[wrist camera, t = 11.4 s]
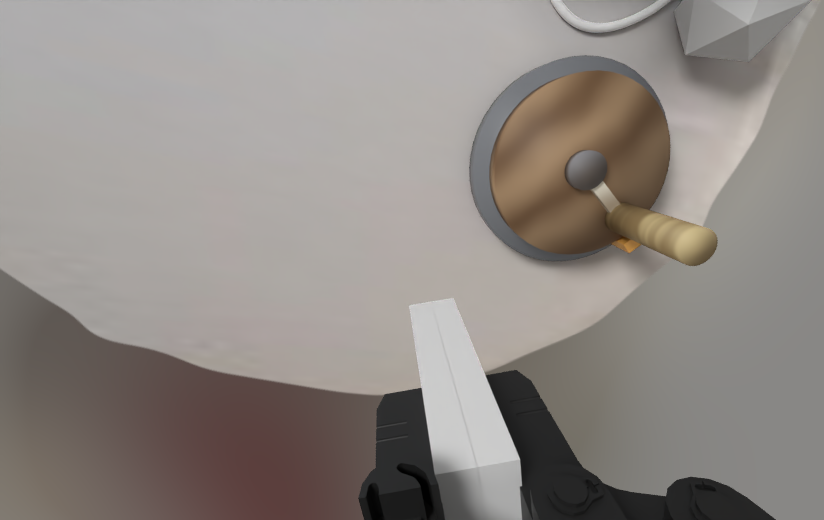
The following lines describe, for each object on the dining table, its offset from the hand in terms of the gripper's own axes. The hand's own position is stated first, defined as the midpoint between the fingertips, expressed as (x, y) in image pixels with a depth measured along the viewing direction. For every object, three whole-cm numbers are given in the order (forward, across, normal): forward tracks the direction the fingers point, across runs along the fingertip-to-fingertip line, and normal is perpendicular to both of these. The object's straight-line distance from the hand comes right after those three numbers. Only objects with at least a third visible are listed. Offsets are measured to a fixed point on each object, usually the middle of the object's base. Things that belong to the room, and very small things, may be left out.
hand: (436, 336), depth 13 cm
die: (+29, +31, +12) cm, 44 cm away
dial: (+26, +18, 0) cm, 32 cm away
